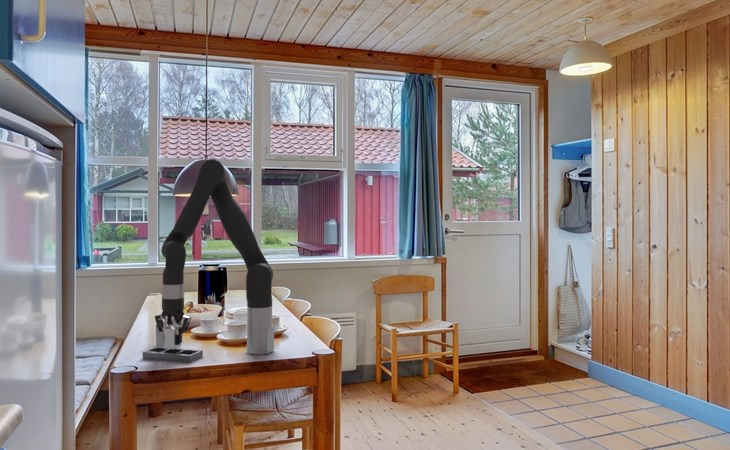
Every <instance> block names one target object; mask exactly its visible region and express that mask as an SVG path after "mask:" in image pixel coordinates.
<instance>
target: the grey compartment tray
mask: <svg viewBox="0 0 730 450" xmlns="http://www.w3.org/2000/svg"><path fill="white" fill-rule="evenodd" d="M203 353H204V351H203V350H202V349H193V348H181V347H179V348H176V349H165V348H164V347H162V346H154V347H152V348H149V349H147V350H144V351H142V359H144V360H154V361H155V360H156V361H165V362H175V363H184V364H185V363H188V364H191V363H193V362H195V361H197V360H200V359H201V358H203V357H204V354H203Z"/></svg>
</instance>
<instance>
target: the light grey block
mask: <svg viewBox="0 0 730 450" xmlns="http://www.w3.org/2000/svg"><path fill="white" fill-rule="evenodd" d="M176 335H177V334H176V329H174V327H172V326H171V327H169V328H166V329H165V333H164V348H165V349H176V348H181V347H182V343H181V344H180V345H176Z"/></svg>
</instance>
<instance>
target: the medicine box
mask: <svg viewBox="0 0 730 450" xmlns="http://www.w3.org/2000/svg"><path fill="white" fill-rule="evenodd" d="M172 327H174V326H173V325H172ZM163 338H164V334H163V332H159V331H158V328H157V324H155V347H157V346H159V347H164V341H163Z"/></svg>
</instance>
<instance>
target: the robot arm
mask: <svg viewBox="0 0 730 450" xmlns="http://www.w3.org/2000/svg"><path fill="white" fill-rule="evenodd" d="M199 166H200V167H199V168H198V175H197V179H196V181H195V185H194V186H193V189H192V191H191V194H190V196H189V197H188V200H187V201H186V203H185V205H184V206H183V207H182V210H181V212H180V214H179V216H178V218H177V220H176V221H175V223H174V226H173V228H172V230H171V231H170V232H169V234H168V235H167V236H166V238H165V240H164V242H163V244H162V246H161V251H160V252H161V254H162V256H163V257H164V258H165V263H164V265H165V267H164V268H163V271H162V288H161V310H162V312H161V313H160V314H156V315H154V320H155V323H156V324H157V328H158V331H159V332H163V334H164V333H165V329H166V328H169V327H171V326H172V325H173V326H174V329H176V334H177V335H176V345H180V344H181V345H182V343H183V334H185V333H187V332H188V330H189V326H190V324H191V321H192V317H191V316H187V315H185V313H184V309H185V285H184V283H185V281H184V279H185V278H184V277H185V276H184V270H185V266H186V259H187V258H186V256H187V250H186V247H185V245H186V243H187V241H188V240H189V239H190V238H191V237H192V236H193V234H194V232H196V229H197V227H198V224H199V223H200V221H201V218H202V215H203V213H204V211H205V208H206V205H207V203H208V201H209V199H211V200H212V202H213V204H214V207H215V211H216V212H217V215H218V217H219V220H220V223H221V224H222V227H223V230H224V232H225V234H226V236H227V238H228V239H229V240H230V243H232V245H233V246H234V248H235V249H236V250H237V252H238V253H239V254H240V255H241V258H242V260H243V262H244V264H245V266H246V269H247V270H246V275H245V276H246V277H245V278H246V279H245V286H246V287H245V288H246V289H245V292H246V293H245V296H246V303H247V304H246V307H247V308H246V310H247V311H246V353H247V354H249V355H257V356H258V355H268V354H270V353H272V352H274V351H275V325H274V324H273V294H272V288H273V287H272V285H273V284H272V280H273V278H274V272H273V269H272V267H271V265H270V264H269V262H268V260H267V259H266V257H265V255H264V253H263V252H262V250H261V249H260V246H259V244H258V241H257V239H256V236H255V233H254V231H253V229H252V226H251V224H250V222H249V219H248V218H247V215H246V214H245V212H244V209H242V207H241V206H240V204H239V203H238V202H237V200H236V198H234V196H233V195H232V192H231V191H230V188H229V185H228V182H227V179H226V177H225V175H226V170H225V167H224V165H223V164H222V162H221V161H219V160H218V159H215V158H214V159H213V158H211V159H207V160H205V161H203V162H202V163H201V164H200V165H199ZM156 324H155V325H156ZM163 341H164V338H163ZM273 350H274V351H273Z"/></svg>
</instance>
